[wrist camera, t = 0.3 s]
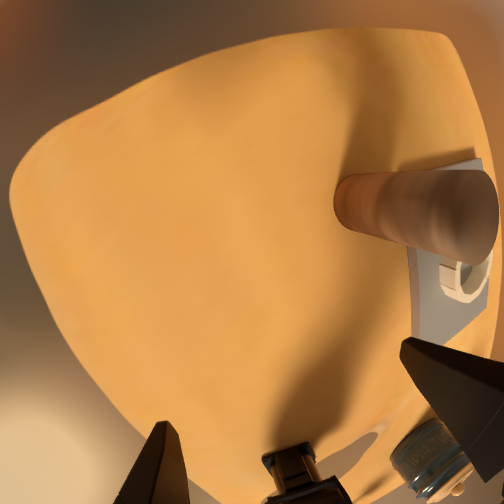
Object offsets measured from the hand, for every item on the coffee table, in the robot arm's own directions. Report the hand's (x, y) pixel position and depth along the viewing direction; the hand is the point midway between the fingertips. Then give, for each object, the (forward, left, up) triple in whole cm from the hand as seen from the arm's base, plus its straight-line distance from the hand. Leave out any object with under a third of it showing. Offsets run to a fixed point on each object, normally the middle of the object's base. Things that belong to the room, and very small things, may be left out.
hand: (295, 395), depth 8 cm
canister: (-45, -21, -14) cm, 52 cm away
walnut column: (+3, -12, -14) cm, 19 cm away
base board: (-7, -25, -14) cm, 30 cm away
